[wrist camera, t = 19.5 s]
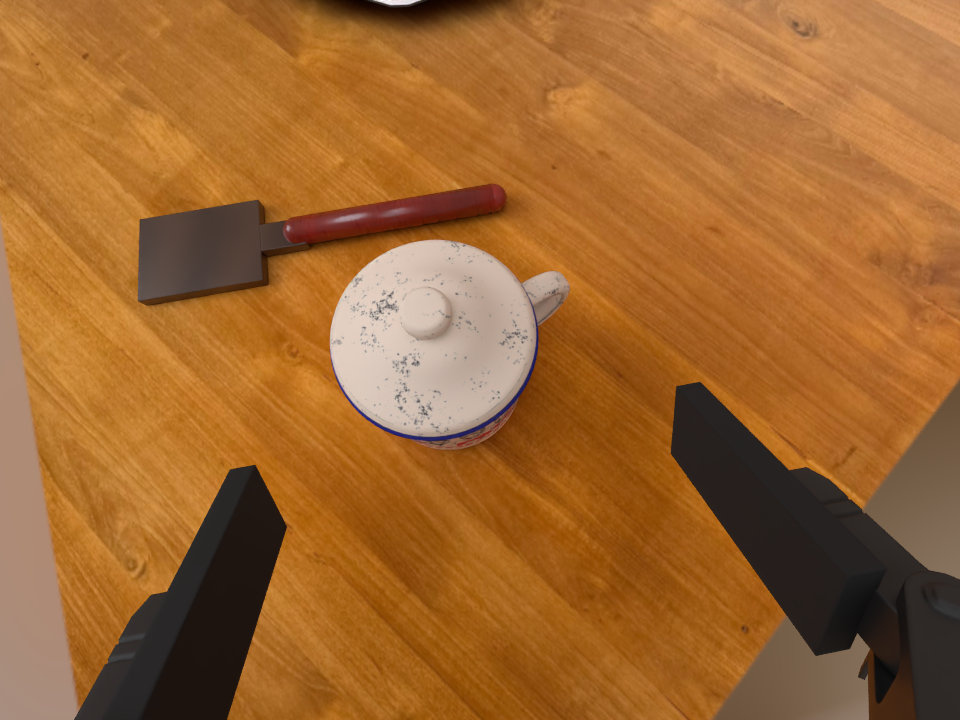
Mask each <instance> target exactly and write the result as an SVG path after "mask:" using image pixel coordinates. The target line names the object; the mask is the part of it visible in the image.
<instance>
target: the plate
mask: <svg viewBox="0 0 960 720" xmlns="http://www.w3.org/2000/svg"><path fill="white" fill-rule="evenodd" d="M367 1H371V2H374V3H378V4H381V5H385V6H388V7H410V6H413V5H416V4H418V3H421V2H424V1H427V0H367Z"/></svg>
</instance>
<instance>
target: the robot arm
mask: <svg viewBox="0 0 960 720" xmlns="http://www.w3.org/2000/svg"><path fill="white" fill-rule="evenodd" d="M671 454H672V456H673V457H674V459H675V460H676V461H677V463H678V464H679V466H680V467H681V468H682V470H683V471H684V473H685V474H686V475H687V477H688V478H689V480H690V481H691V482H692V484H693V485H694V487H695V488H696V489H697V491H698V492H699V494H700V495H701V496H702V498H703V499H704V500H705V502H706V503H707V505H708V506H709V507H710V509H711V510H712V512H713V513H714V514H715V516H716V517H717V519H718V520H719V521H720V523H721V524H722V526H723V527H724V528H725V530H726V531H727V533H728V534H729V535H730V537H731V538H732V540H733V541H734V542H735V544H736V545H737V547H738V548H739V549H740V551H741V552H742V554H743V555H744V556H745V558H746V559H747V561H748V562H749V563H750V565H751V566H752V568H753V569H754V570H755V572H756V573H757V575H758V576H759V577H760V579H761V580H762V581H763V583H764V584H765V586H766V587H767V588H768V590H769V591H770V593H771V594H772V595H773V597H774V598H775V600H776V601H777V602H778V604H779V605H780V607H781V608H782V609H783V611H784V612H785V614H786V615H787V616H788V618H789V619H790V621H791V622H792V623H793V625H794V626H795V628H796V629H797V630H798V632H799V633H800V635H801V636H802V637H803V639H804V640H805V641H806V643H807V644H808V646H809V647H810V648H811V650H812V651H813V653H814V654H815V655H816V656H818V655H823V654H827V653H832V652H837V651H842V650H847V649H850V647H851V645H852V643H853V641H854V639H855V637H856V635H857V633H858V634H859V635H860V637H861V638H862V639H863V640H864V642H865V643H866V644H867V645H868V646H869V647H870V651H869V652H868V655H867V656H866V658H865V660H864V663H863V664H862V666H861V668H860V672H859V675H858V677H859V678H862V679H864V680H865V678H866V676H867V674H868V693H869V720H960V580H959V579H957V578H955V577H952V576H950V575H947V574H944V573H940V572H935V571H930V570H928V569H927V568H925V567H924V566H923V565H922V564H921V563H919V562H918V561H917V560H916V559H915V558H914V557H913V556H912V555H911V554H910V553H909V552H908V551H906V550H905V549H904V548H903V547H902V546H901V545H900V544H899V543H898V542H897V541H896V540H894V539H893V538H892V537H891V536H890V535H889V534H888V533H887V532H886V531H885V530H884V529H883V528H881V527H880V526H879V525H878V524H877V523H876V522H875V521H874V520H873V519H872V518H870V517H869V516H868V515H867V514H866V513H865V514H864V513H863V512H862V509H861V508H860V507H859V506H858V505H857V504H855V503H854V502H853V501H852V500H849V499H848V496H847V495H846V494H845V493H843V492H842V491H841V490H840V489H839V488H838V487H837V486H836V485H835V484H834V483H833V482H832V481H830V480H829V479H827V478H825V477H824V476H822V475H820V474H818V473H816V472H815V471H813V470H811V469H809V468H807V467H804V468H799V469H794V470H788V469H787V468H786V467H785V466H784V465H783V464H782V463H781V462H780V461H779V460H778V459H777V458H776V457H775V456H774V455H773V454H772V453H771V452H770V451H769V450H768V449H767V448H766V447H765V446H764V445H763V444H762V443H761V442H760V441H759V440H758V439H757V438H756V437H755V436H754V435H753V434H752V433H751V432H750V431H749V430H748V429H747V428H746V427H745V426H744V425H743V424H742V423H741V422H740V421H739V420H738V419H737V418H736V417H735V416H734V415H733V414H732V413H731V412H730V411H729V410H728V409H727V408H726V407H725V406H724V405H723V404H722V403H721V402H720V401H719V400H718V399H717V398H716V397H715V396H714V395H713V394H712V393H711V392H710V391H709V390H708V389H707V388H706V387H705V386H704V385H703V384H702V383H701V382H697V383H692V384H686V385H681V386H676V397H675V409H674V421H673V433H672V445H671ZM286 528H287V526H286V524H285V522H284V520H283V518H282V516H281V514H280V512H279V510H278V508H277V506H276V504H275V502H274V500H273V498H272V496H271V494H270V492H269V491H268V489H267V487H266V485H265V483H264V481H263V479H262V477H261V475H260V473H259V471H258V469H257V467H256V465H252V466H246V467H241V468H236V469H230V471H229V472H228V474H227V476H226V478H225V480H224V482H223V484H222V486H221V488H220V490H219V492H218V494H217V496H216V498H215V500H214V502H213V504H212V505H211V507H210V509H209V511H208V513H207V515H206V517H205V519H204V521H203V523H202V525H201V527H200V529H199V531H198V533H197V535H196V537H195V538H194V540H193V542H192V544H191V546H190V548H189V550H188V552H187V554H186V556H185V558H184V560H183V562H182V564H181V566H180V568H179V569H178V571H177V573H176V575H175V577H174V579H173V581H172V583H171V585H170V587H169V589H168V591H167V592H164V593H159V594H153V595H151V596H150V597H149V598H148V599H147V600H146V601H145V603H144V604H143V605H142V606H141V607H140V608H139V609H138V610H137V611H136V613H135V614H134V615H133V616H132V617H131V619H130V621H129V623H128V624H127V626H126V628H125V630H124V631H123V633H122V635H121V637H120V639H119V644H117V645H116V646H115V648H114V649H113V651H112V653H111V655H110V657H109V658H108V663H107V664H105V665H104V667H103V669H102V671H101V673H100V674H99V676H98V678H97V680H96V682H95V683H94V685H93V687H92V689H91V691H90V692H89V694H88V696H87V698H86V699H85V701H84V703H83V705H82V707H81V708H80V710H79V712H78V714H77V716H76V717H75V719H74V720H227V718H228V714H229V711H230V708H231V705H232V702H233V698H234V695H235V692H236V689H237V686H238V682H239V679H240V676H241V673H242V669H243V666H244V663H245V660H246V657H247V653H248V650H249V647H250V644H251V641H252V637H253V634H254V631H255V628H256V625H257V621H258V618H259V615H260V612H261V609H262V605H263V602H264V599H265V596H266V592H267V589H268V586H269V583H270V580H271V576H272V573H273V570H274V567H275V564H276V560H277V557H278V554H279V551H280V548H281V544H282V541H283V538H284V535H285V531H286Z"/></svg>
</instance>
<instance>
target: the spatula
mask: <svg viewBox="0 0 960 720" xmlns="http://www.w3.org/2000/svg"><path fill="white" fill-rule="evenodd" d="M506 199H507V197H506V193H505V190H504V189H503V188H502V187H501V186H500V185H497V184H487V185H481V186H475V187H469V188H463V189H458V190H452V191H446V192H440V193H434V194H428V195H422V196H416V197H410V198H404V199H398V200H392V201H386V202H380V203H374V204H368V205H362V206H357V207H351V208H345V209H339V210H333V211H327V212H321V213H315V214H309V215H303V216H297V217H292V218H290V219H288V220H286V221H280V222H274V223H268V224H265V223H264V206H263V205H262V204H261V203H260V201H259V200H254V201H248V202H242V203H236V204H230V205H224V206H218V207H212V208H206V209H200V210H194V211H188V212H182V213H176V214H170V215H164V216H158V217H152V218H146V219H140V233H139V274H138V301H139V302H141V303H143V304H145V305H153V304H158V303H164V302H170V301H176V300H182V299H188V298H193V297H199V296H205V295H211V294H217V293H223V292H228V291H234V290H240V289H246V288H252V287H258V286H263V285H268V274H267V257H266V256H272V255H278V254H284V253H290V252H296V251H302V250H308V249H310V244H311V243H317V242H323V241H329V240H335V239H341V238H347V237H353V236H359V235H364V234H370V233H376V232H382V231H388V230H394V229H400V228H406V227H412V226H417V225H423V224H429V223H435V222H441V221H447V220H453V219H459V218H465V217H471V216H476V215H482V214H488V213H494V212H498V211H500V210H501V209H502V208H503V207H504V206H505V203H506Z"/></svg>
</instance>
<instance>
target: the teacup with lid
mask: <svg viewBox="0 0 960 720" xmlns="http://www.w3.org/2000/svg"><path fill="white" fill-rule="evenodd" d="M569 290H570V286H569V283H568V282H567V280H566V279H565V277H564V276H563V275H562V274H561V273H560V272H557V271H550V272H545V273H542V274H539V275H537V276H534V277H532V278H530V279H529V280H527V281H525V282H523V283H520V282H519V280H518V279H517V278H516V276H515V275H514V274H513V273H512V272H511V271H510V270H509V269H508V268H507V267H506V266H505V265H504V264H503V263H501V262H500V261H499V260H497V259H496V258H495V257H493V256H491V255H490V254H488V253H486V252H485V251H482V250H480V249H478V248H476V247H473V246H470V245H467V244H463V243H460V242H454V241H446V240H426V241H419V242H413V243H409V244H406V245H402V246H400V247H397V248H394V249H392V250H390V251H388V252H386V253H384V254H382V255H381V256H379V257H377V258H376V259H374V260H373V261H372V262H370V263H369V264H368V265H367V266H365V267H364V268H363V269H362V270H361V271H360V272H359V273H358V274H357V275H356V276H355V277H354V279H353V280H352V281H351V282H350V284H349V285H348V286H347V288H346V290H345V291H344V293H343V295H342V296H341V298H340V300H339V302H338V305H337V307H336V310H335V313H334V316H333V320H332V325H331V333H330V354H331V361H332V366H333V370H334V373H335V376H336V379H337V381H338V383H339V386H340V388H341V390H342V391H343V393H344V395H345V396H346V398H347V399H348V400H349V402H350V403H351V404H352V406H353V407H354V408H355V409H356V410H357V411H358V412H359V413H360V414H361V415H362V416H363V417H365V418H366V419H367V420H368V421H370V422H371V423H373V424H374V425H376V426H377V427H379V428H381V429H383V430H385V431H387V432H389V433H392V434H394V435H397V436H400V437H404V438H408V439H411V440H413V441H415V442H416V443H419V444H421V445H423V446H426V447H430V448H434V449H441V450H456V449H463V448H467V447H470V446H474V445H476V444H478V443H481V442H482V441H484V440H486V439H488V438H489V437H491V436H492V435H494V434H495V433H496V432H497V431H498V430H499V429H500V428H501V427H502V426H503V425H504V424H505V423H506V422H507V420H508V419H509V417H510V416H511V414H512V413H513V411H514V409H515V407H516V404H517V402H518V398H519V396H520V395H521V393H522V391H523V390H524V388H525V387H526V385H527V383H528V381H529V379H530V376H531V374H532V371H533V369H534V365H535V362H536V357H537V351H538V326H539V325H540V324H542V323H543V322H544V321H546V320H547V319H548V318H549V317H550V316H551V315H552V314H554V313H555V312H556V311H557V309H558V308H559V307H560V306H561V305H562V304H563V302H564V301H565V299H566V298H567V296H568V294H569Z"/></svg>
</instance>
